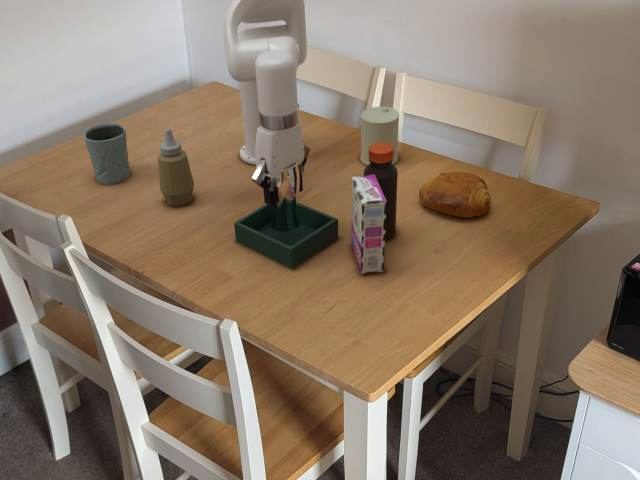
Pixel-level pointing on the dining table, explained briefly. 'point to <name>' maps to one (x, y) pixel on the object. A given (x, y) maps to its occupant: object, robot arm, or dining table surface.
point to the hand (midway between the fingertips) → (283, 196)
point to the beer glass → (286, 200)
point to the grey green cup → (108, 152)
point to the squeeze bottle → (174, 172)
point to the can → (379, 130)
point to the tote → (287, 235)
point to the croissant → (456, 194)
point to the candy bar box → (368, 224)
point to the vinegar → (385, 180)
